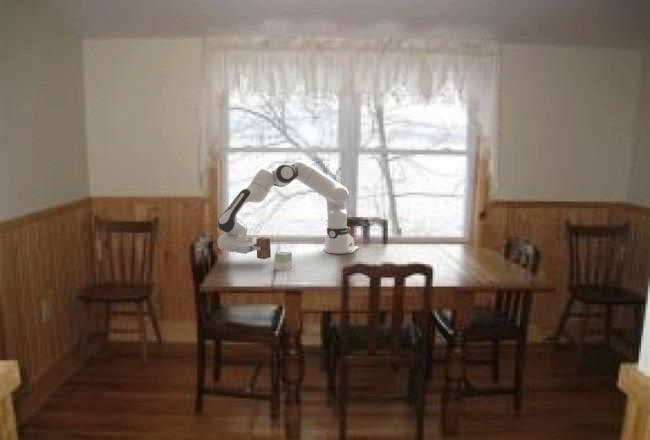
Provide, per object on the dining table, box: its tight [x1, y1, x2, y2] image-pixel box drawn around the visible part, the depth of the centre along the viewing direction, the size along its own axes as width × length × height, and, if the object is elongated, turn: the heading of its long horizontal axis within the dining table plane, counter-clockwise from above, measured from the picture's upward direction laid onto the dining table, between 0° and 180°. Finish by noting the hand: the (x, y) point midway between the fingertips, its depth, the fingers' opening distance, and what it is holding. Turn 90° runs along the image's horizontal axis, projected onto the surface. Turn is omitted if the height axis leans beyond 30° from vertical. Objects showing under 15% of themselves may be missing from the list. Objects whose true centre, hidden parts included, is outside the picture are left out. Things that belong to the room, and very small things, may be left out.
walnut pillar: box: [256, 237, 272, 260], centre depth 281 cm, size 5×5×10 cm
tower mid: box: [274, 251, 293, 263], centre depth 275 cm, size 6×6×4 cm
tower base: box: [274, 259, 293, 271], centre depth 275 cm, size 6×6×4 cm
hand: (264, 247), depth 281 cm, fingers closed on walnut pillar, 5 cm apart
